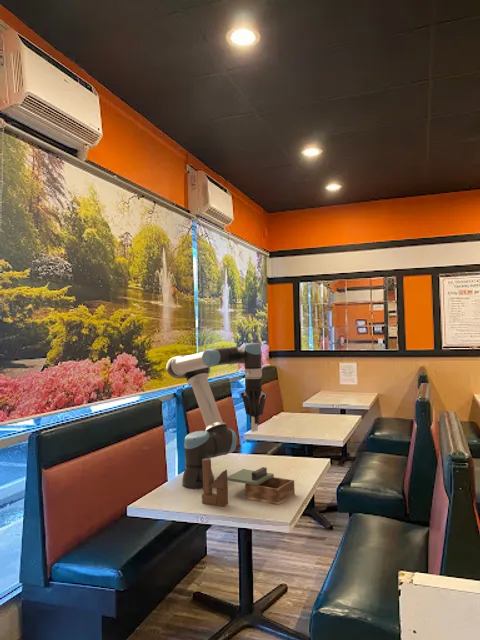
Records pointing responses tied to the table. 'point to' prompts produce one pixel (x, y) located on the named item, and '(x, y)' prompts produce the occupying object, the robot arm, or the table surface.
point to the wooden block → (214, 486)
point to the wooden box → (271, 490)
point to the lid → (251, 476)
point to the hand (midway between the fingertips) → (254, 430)
